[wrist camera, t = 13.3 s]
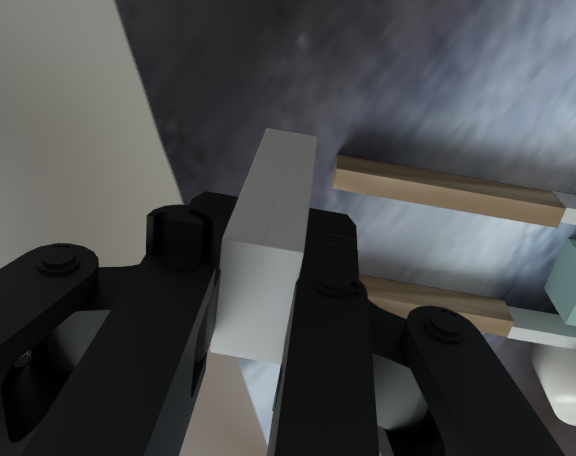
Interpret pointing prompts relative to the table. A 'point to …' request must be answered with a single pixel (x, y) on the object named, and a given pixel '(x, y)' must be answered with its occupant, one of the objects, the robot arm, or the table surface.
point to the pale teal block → (564, 283)
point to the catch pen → (540, 323)
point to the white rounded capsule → (557, 378)
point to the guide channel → (448, 195)
